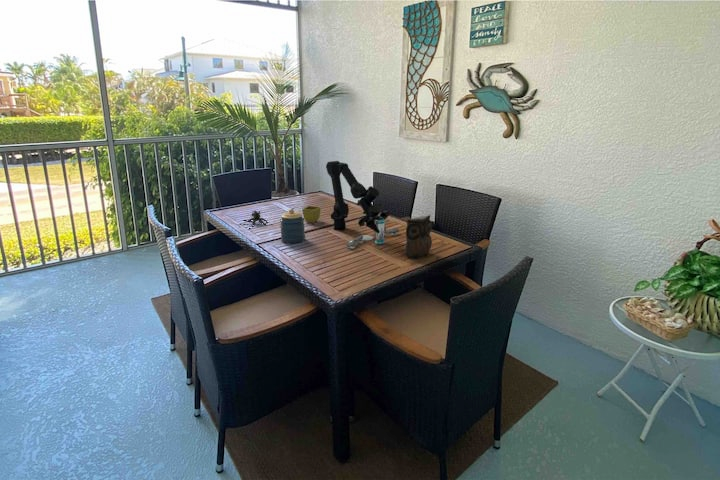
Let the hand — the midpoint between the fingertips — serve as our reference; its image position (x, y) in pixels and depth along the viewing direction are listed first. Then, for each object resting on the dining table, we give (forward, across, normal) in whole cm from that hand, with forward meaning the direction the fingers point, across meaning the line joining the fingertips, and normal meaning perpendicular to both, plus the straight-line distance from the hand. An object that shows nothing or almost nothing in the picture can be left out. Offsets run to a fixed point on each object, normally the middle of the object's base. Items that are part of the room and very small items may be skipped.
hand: (382, 231), depth 209 cm
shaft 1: (-1, -12, +10) cm, 16 cm away
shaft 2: (-1, +12, +10) cm, 16 cm away
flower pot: (-36, -4, +46) cm, 59 cm away
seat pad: (-4, 0, +14) cm, 14 cm away
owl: (+20, +2, -11) cm, 23 cm away
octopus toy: (-50, -32, +61) cm, 86 cm away
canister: (-21, -32, +31) cm, 49 cm away
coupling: (+4, 0, +6) cm, 7 cm away
